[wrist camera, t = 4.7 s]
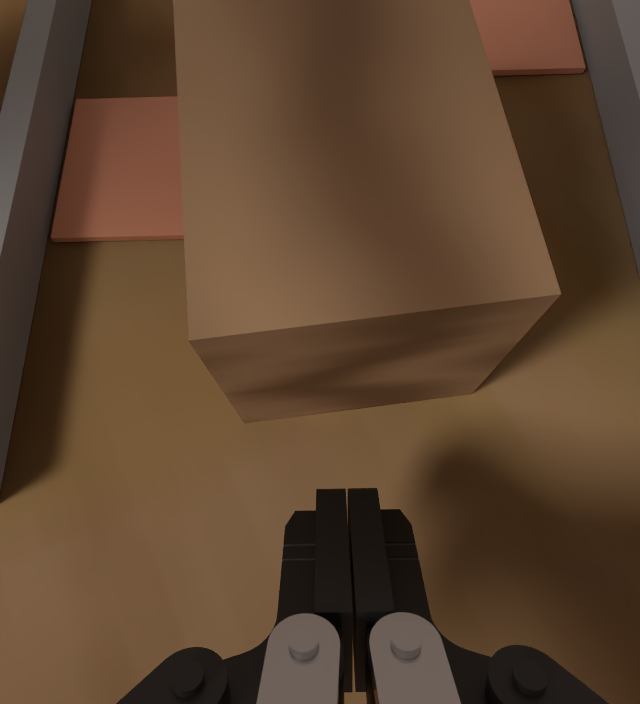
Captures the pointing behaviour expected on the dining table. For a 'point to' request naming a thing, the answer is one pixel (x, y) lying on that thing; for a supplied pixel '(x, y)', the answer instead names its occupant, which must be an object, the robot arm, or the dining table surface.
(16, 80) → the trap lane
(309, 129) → the walnut block
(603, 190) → the dining table surface
